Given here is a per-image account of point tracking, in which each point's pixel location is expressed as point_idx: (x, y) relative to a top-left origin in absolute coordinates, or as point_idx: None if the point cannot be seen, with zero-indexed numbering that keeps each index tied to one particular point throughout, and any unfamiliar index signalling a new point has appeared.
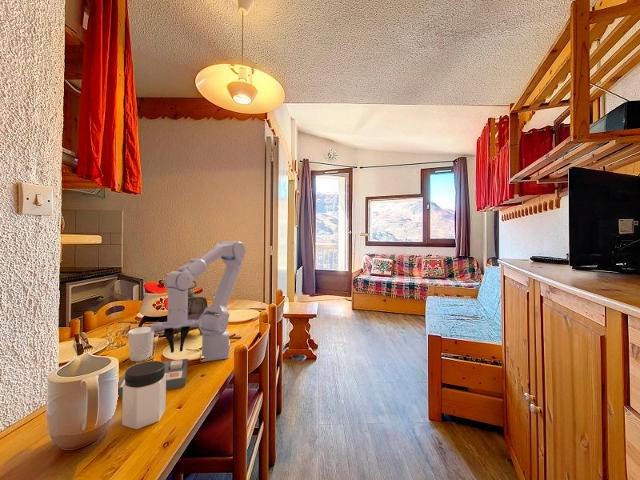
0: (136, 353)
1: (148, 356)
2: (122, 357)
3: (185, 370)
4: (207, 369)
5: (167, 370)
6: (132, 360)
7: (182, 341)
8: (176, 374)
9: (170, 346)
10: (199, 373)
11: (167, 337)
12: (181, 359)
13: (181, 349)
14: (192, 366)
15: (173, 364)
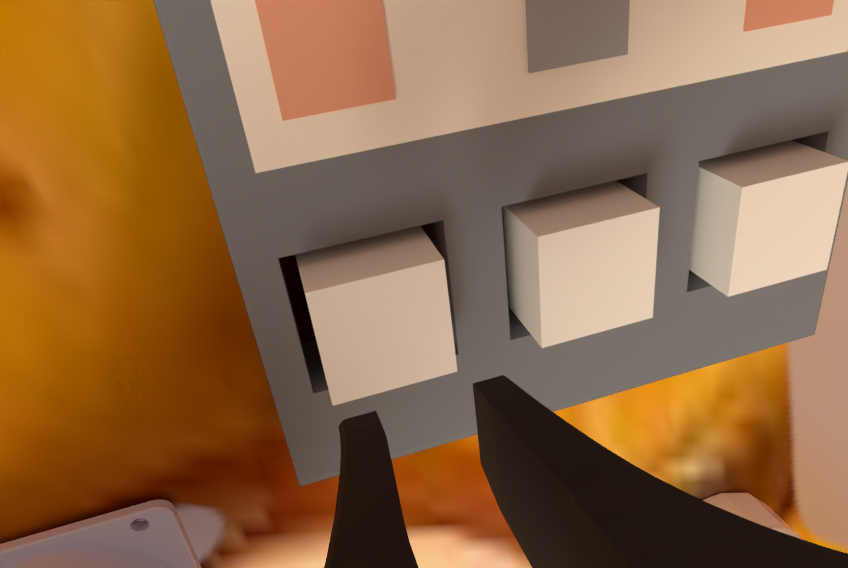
0: None
1: None
2: (808, 538)
3: (215, 178)
4: (7, 347)
5: (455, 210)
6: (754, 497)
7: (366, 556)
8: (302, 53)
9: (567, 428)
10: (75, 257)
11: (769, 549)
12: None
13: (354, 437)
14: (233, 417)
15: (411, 282)
